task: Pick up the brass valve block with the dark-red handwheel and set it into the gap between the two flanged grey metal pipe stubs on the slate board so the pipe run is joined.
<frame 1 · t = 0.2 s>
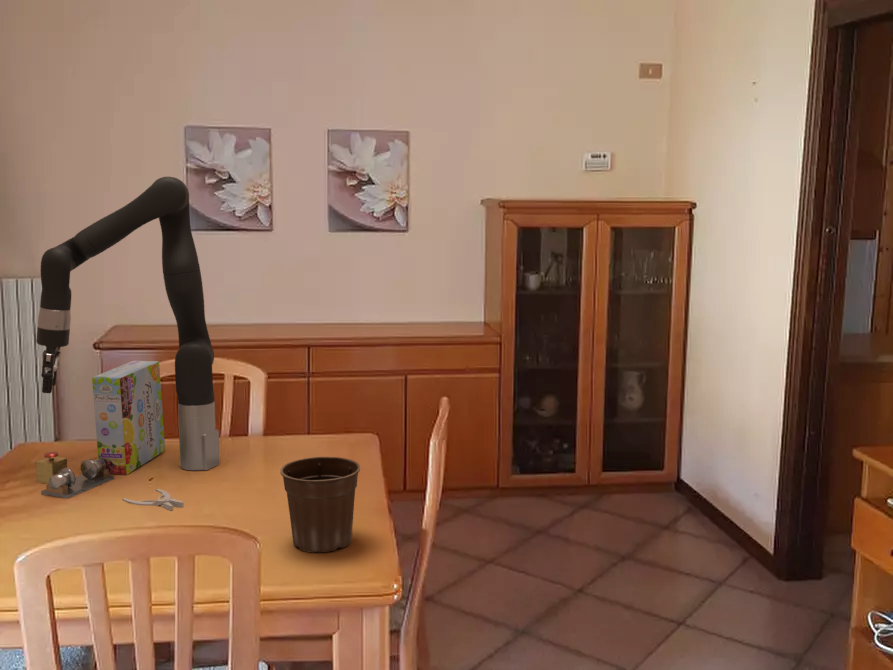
hand: (48, 388, 233), 22 cm above the table, tool pointing down, fingers open, 8 cm apart
pliers: (158, 504, 215), on the table
plant pot: (321, 543, 192), on the table
snack box: (132, 463, 245), on the table
pipe run: (78, 486, 225), on the table
valve: (52, 481, 229), on the table
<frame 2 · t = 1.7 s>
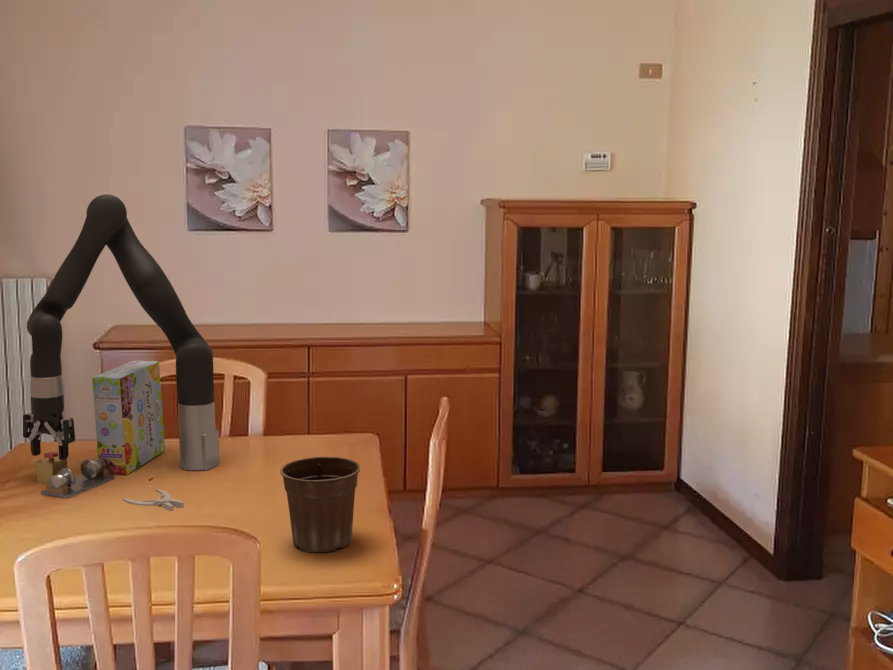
hand: (49, 457, 229), 6 cm above the table, tool pointing down, fingers open, 8 cm apart
nothing on the table moved.
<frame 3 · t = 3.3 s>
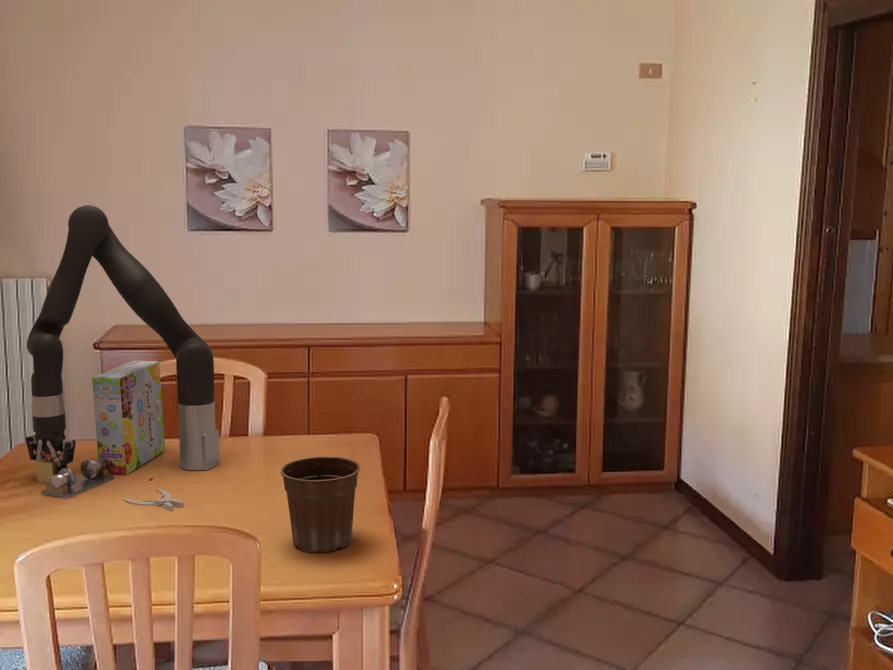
hand: (52, 478, 229), 1 cm above the table, tool pointing down, fingers closed on valve, 5 cm apart
valve: (52, 480, 229), on the table, touching gripper
everything else where it was.
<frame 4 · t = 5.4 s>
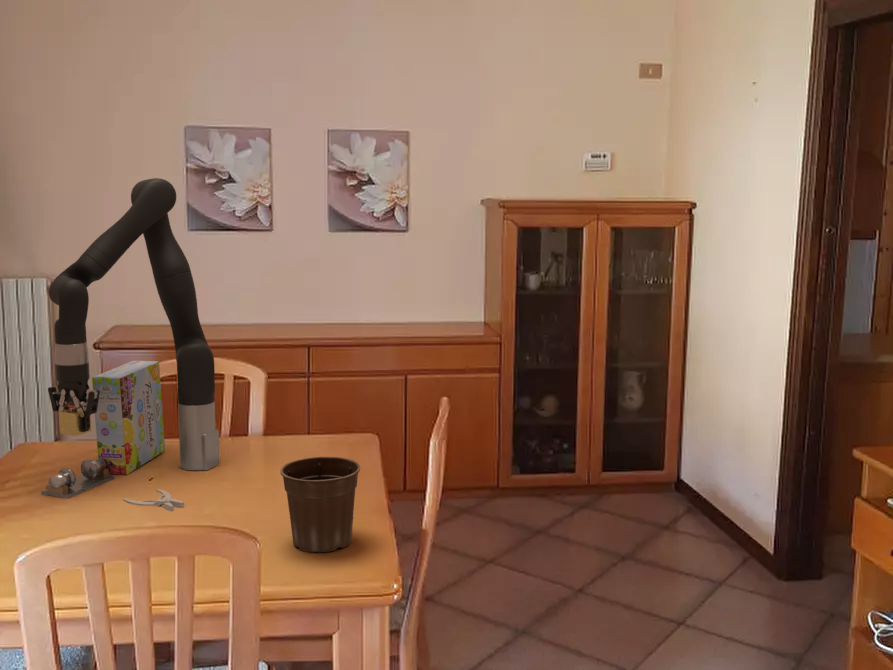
hand: (75, 429, 223), 14 cm above the table, tool pointing down, fingers closed on valve, 5 cm apart
valve: (75, 432, 223), point 14 cm above the table, touching gripper
everything else where it was.
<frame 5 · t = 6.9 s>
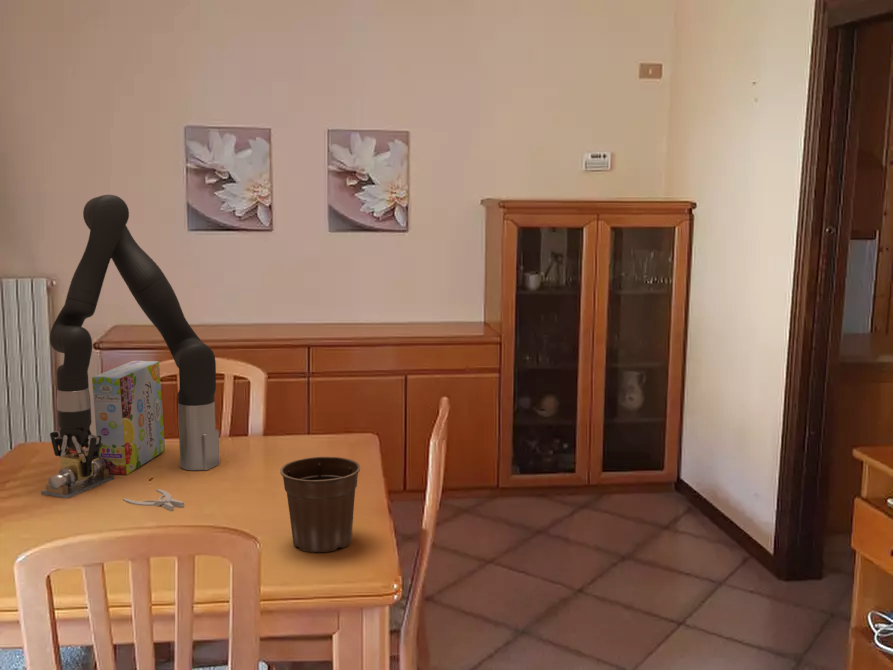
hand: (77, 474, 225), 3 cm above the table, tool pointing down, fingers closed on valve, 5 cm apart
valve: (77, 477, 225), point 2 cm above the table, touching gripper
everything else where it was.
when the fingers open (2 cm above the table, at t = 7.8 s): valve stays where it is, resting on pipe run.
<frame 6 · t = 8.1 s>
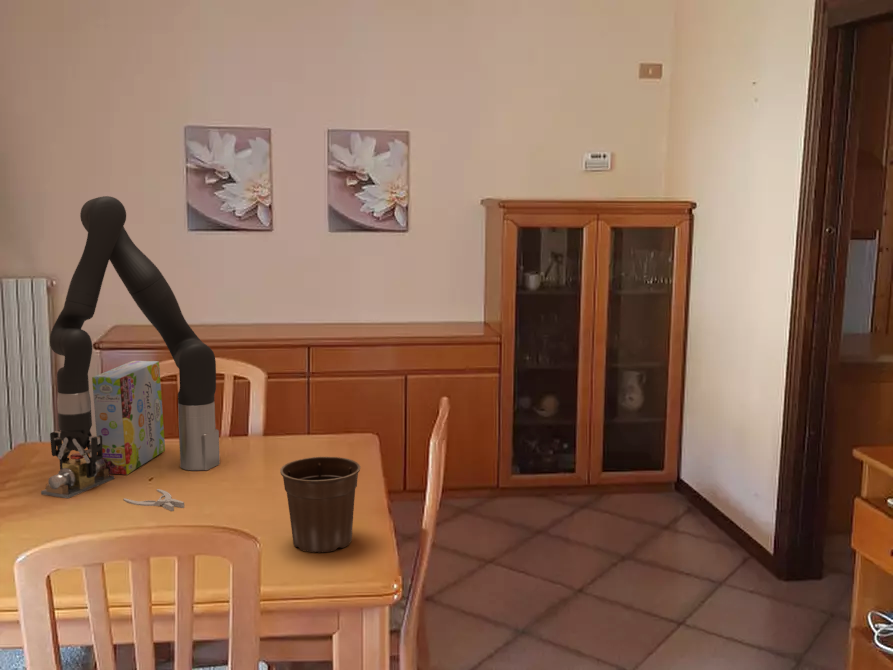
hand: (78, 475, 225), 3 cm above the table, tool pointing down, fingers open, 7 cm apart
valve: (79, 483, 225), point 1 cm above the table, touching pipe run
everything else where it was.
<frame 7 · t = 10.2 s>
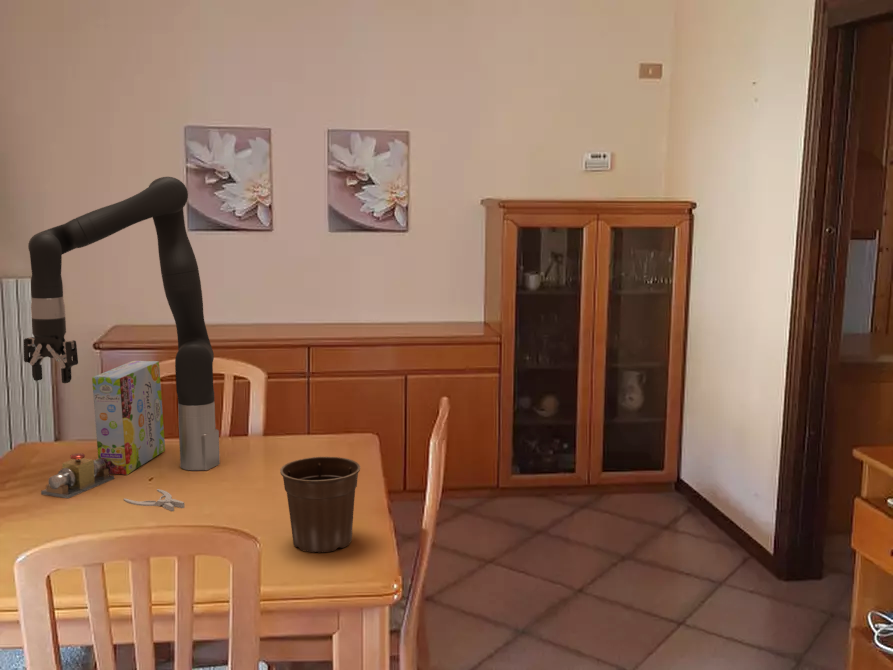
hand: (52, 381, 225), 25 cm above the table, tool pointing down, fingers open, 8 cm apart
nothing on the table moved.
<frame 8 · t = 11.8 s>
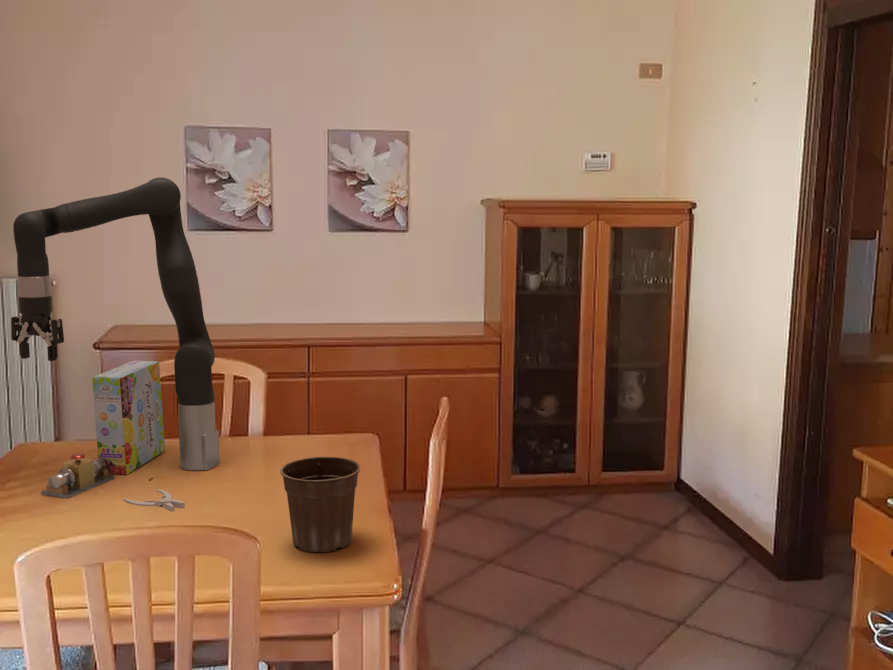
hand: (38, 359, 228), 30 cm above the table, tool pointing down, fingers open, 8 cm apart
nothing on the table moved.
at the end: valve 0.2 cm off-centre on the pipe run, point 0.8 cm above the pipe run's base; valve tilted 0°; the gripper is holding nothing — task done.
